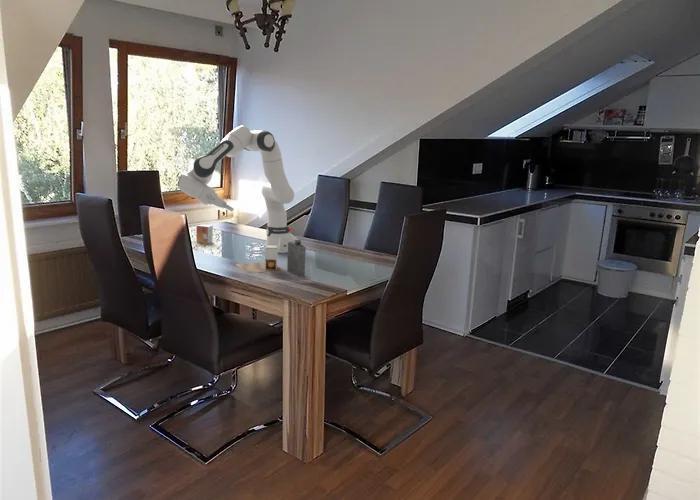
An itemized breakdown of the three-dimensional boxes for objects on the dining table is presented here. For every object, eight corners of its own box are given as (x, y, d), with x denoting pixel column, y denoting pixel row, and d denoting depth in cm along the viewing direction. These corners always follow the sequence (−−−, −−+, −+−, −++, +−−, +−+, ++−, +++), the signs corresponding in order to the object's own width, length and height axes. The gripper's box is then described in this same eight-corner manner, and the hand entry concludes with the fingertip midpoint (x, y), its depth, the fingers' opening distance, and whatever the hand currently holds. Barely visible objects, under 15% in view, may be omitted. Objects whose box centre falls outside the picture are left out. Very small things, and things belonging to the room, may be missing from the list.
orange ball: (273, 266, 277) (273, 259, 276) (275, 268, 274) (275, 261, 273) (266, 267, 275) (266, 260, 274) (268, 268, 272) (269, 261, 271)
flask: (292, 272, 273) (293, 237, 269) (306, 279, 262) (308, 242, 258) (286, 272, 271) (287, 237, 267) (300, 280, 260) (301, 243, 256)
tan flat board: (272, 263, 287) (272, 261, 287) (284, 272, 272) (284, 269, 272) (235, 266, 278) (235, 264, 278) (245, 275, 262) (245, 273, 262)
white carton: (265, 266, 277) (266, 245, 275) (277, 266, 277) (277, 245, 275) (264, 269, 271) (265, 247, 269) (276, 269, 272) (277, 248, 269)
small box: (196, 242, 328) (196, 225, 326) (201, 241, 333) (201, 224, 331) (207, 244, 326) (207, 226, 324) (212, 242, 331) (212, 225, 329)
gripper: (209, 189, 261) (235, 203, 264) (212, 191, 282) (236, 205, 284) (202, 200, 261) (228, 215, 264) (206, 202, 281) (230, 215, 284)
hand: (232, 210), depth 274 cm, fingers open, 8 cm apart
